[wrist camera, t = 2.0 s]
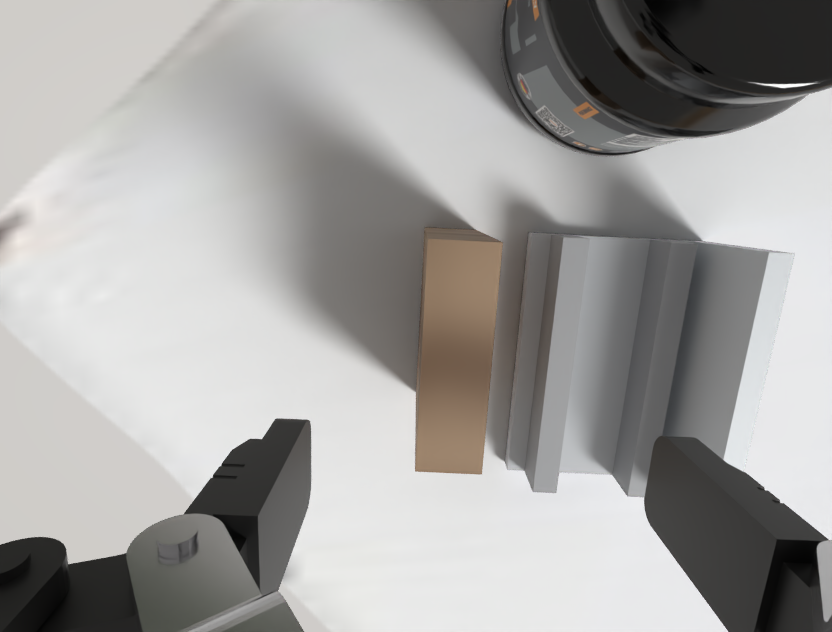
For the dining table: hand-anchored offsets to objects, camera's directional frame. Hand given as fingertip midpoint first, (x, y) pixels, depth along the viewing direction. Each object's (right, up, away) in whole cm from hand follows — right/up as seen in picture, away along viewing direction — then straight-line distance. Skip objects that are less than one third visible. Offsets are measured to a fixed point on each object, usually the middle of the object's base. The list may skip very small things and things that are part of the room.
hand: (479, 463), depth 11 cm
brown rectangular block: (0, +3, +14) cm, 15 cm away
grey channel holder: (+8, +1, +15) cm, 17 cm away
